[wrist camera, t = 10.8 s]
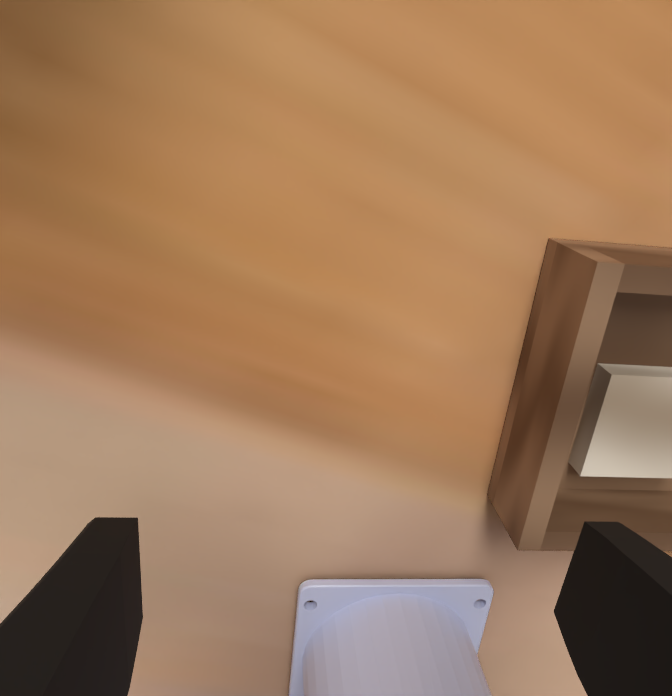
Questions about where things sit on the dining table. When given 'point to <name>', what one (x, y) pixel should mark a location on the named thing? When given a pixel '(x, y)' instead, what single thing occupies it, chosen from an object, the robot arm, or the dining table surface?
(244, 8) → the dining table surface
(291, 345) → the dining table surface
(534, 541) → the walnut box
